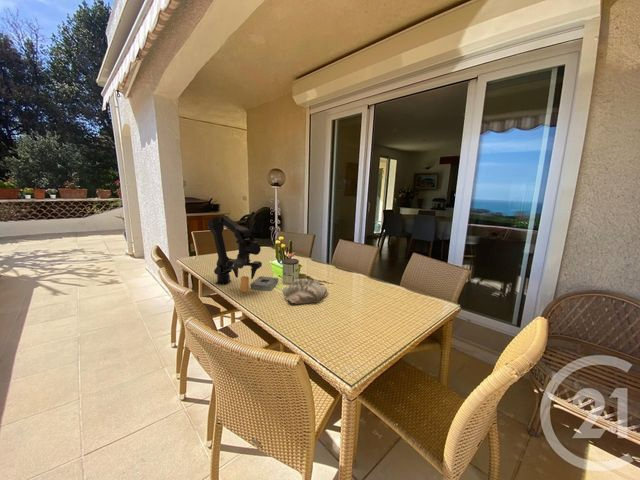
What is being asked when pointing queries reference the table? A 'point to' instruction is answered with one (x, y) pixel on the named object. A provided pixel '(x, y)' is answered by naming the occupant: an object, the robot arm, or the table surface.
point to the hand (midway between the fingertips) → (244, 278)
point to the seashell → (305, 291)
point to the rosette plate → (264, 283)
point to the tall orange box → (244, 284)
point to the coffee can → (290, 270)
